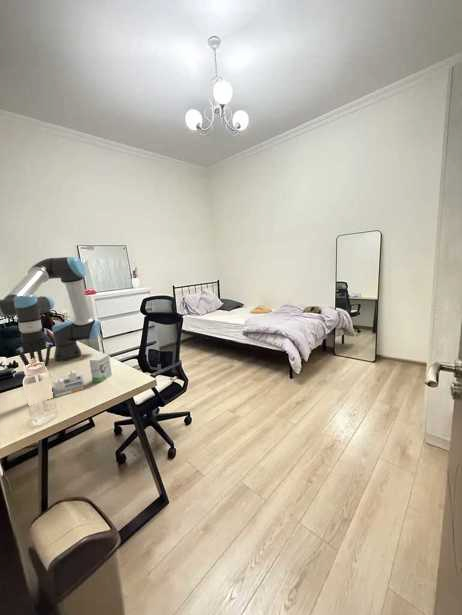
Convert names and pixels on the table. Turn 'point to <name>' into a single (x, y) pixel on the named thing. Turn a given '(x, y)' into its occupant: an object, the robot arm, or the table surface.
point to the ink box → (100, 368)
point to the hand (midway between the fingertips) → (41, 382)
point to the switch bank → (70, 386)
